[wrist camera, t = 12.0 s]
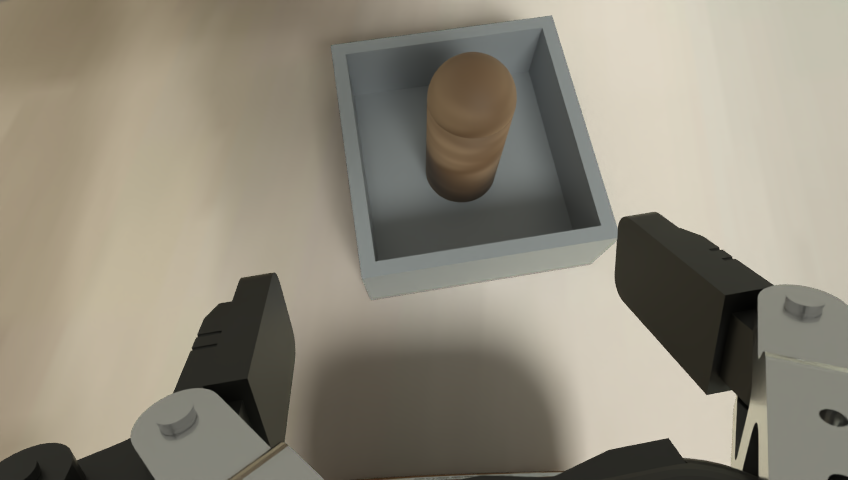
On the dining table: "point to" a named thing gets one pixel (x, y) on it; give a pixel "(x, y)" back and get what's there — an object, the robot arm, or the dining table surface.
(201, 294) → the dining table surface
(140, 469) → the robot arm
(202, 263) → the dining table surface
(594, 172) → the bin
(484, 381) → the dining table surface
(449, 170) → the pepper mill
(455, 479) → the tin
